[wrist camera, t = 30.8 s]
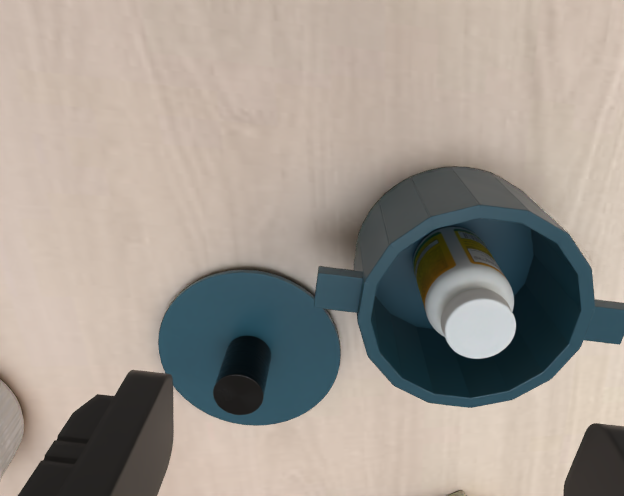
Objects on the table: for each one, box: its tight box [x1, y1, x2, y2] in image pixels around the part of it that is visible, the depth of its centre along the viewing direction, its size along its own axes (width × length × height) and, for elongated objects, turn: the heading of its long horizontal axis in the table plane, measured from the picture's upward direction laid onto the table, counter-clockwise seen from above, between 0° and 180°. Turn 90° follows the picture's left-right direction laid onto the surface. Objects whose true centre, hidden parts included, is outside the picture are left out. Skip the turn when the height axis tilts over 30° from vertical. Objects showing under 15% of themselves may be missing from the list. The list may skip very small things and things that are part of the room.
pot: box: [314, 167, 624, 408], centre depth 35 cm, size 14×19×8 cm
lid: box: [158, 270, 340, 425], centre depth 40 cm, size 15×15×6 cm
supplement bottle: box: [413, 227, 516, 359], centre depth 34 cm, size 5×5×10 cm
